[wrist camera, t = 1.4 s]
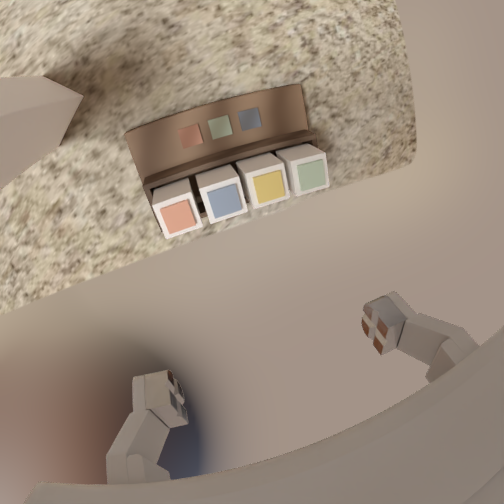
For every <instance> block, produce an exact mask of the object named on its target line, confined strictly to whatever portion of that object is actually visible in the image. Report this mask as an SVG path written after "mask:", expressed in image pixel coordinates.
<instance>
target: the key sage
mask: <svg viewBox="0 0 504 504" xmlns="http://www.w3.org/2000/svg"><path fill="white" fill-rule="evenodd" d="M276 156H277V158H278V159H279V160H281V161H282V162H283V163H284V167H285V172H286V178H287V183H288V189H289V190H290V191H291V192H292V193H293V194H294V195H295V196H296V197H297V196H300V195H303V194H307V193H310V192H314V191H317V190H320V189H324V188H327V187H329V177H328V168H327V160H326V152H324V151H322V150H320V149H318V148H316V147H314V146H312V145H310V144H308V143H306V144H302V145H298V146H294V147H290V148H286V149H282V150H278V151H276Z"/></svg>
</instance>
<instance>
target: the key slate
mask: <svg viewBox="0 0 504 504" xmlns="http://www.w3.org/2000/svg"><path fill="white" fill-rule="evenodd" d="M195 176H196V180H197V184H198V187H199V191H200V194H201V197H202V200H203V203H204V206H205V209H206V212H207V215H208V218H209V221H210V224H212V223H215V222H218V221H221V220H224V219H227V218H230V217H233V216H236V215H239V214H242V213H245V212H248V209H247V206H246V202H245V198H244V194H243V190H242V186H241V182H240V178H239V176H238V174H237V173H236V171H235V170H234V169H233V167H232V166H231V165H230V164H228V165H225V166H222V167H219V168H216V169H212V170H209V171H206V172H203V173H200V174H197V175H195Z"/></svg>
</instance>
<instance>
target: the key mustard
mask: <svg viewBox="0 0 504 504" xmlns="http://www.w3.org/2000/svg"><path fill="white" fill-rule="evenodd" d="M236 165H237V169H238V173H239V177H240V181H241V185H242V189H243V193H244V195H245V196H246V198H247V199H248V201H249V203H250V204H251V206H252V207H253V209H257V208H260V207H263V206H266V205H269V204H272V203H276V202H279V201H282V200H285V199H289V198H290V195H289V189H288V183H287V178H286V172H285V167H284V163H283V162H282V161H281V160H279V159H278V158H277V157H275V156H274V155H273V154H271V153H270V152H269V153H265V154H262V155H258V156H254V157H251V158H247V159H244V160H241V161H237V162H236Z"/></svg>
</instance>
